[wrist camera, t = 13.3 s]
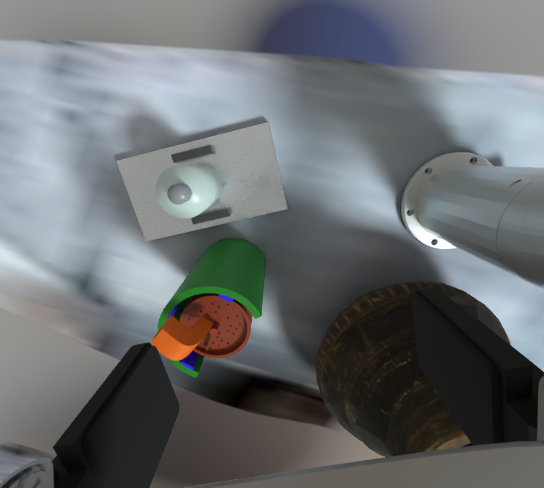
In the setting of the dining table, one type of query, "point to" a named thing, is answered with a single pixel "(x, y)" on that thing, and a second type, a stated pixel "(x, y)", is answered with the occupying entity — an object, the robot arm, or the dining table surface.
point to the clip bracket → (230, 166)
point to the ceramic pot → (389, 373)
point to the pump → (188, 189)
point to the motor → (213, 306)
